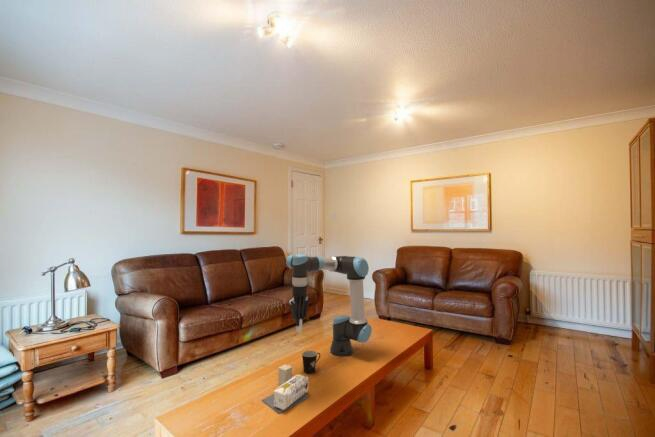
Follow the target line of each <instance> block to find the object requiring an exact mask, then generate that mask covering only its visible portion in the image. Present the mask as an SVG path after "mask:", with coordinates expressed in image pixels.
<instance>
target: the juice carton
mask: <svg viewBox="0 0 655 437" xmlns="http://www.w3.org/2000/svg"><path fill="white" fill-rule="evenodd" d="M307 392H309V376H306V375H303V374H299V373H298V374H296V375H294V376H292V378H291V379H290V380H288V381H287V382H285V383H284V384H283V385H281V386H280V385H279V386H278V387H277V388H276V389H274V390H273V394H274V406H275V407H278V408H280V409H282V410H285V409H286V408H287V407H289V406H290V405H291V404H292V403H294V402H295V401H296V400H297V399H299V398H300V397H301V396H302V395H304V394H305V395H306V394H307ZM285 411H286V410H285Z"/></svg>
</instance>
